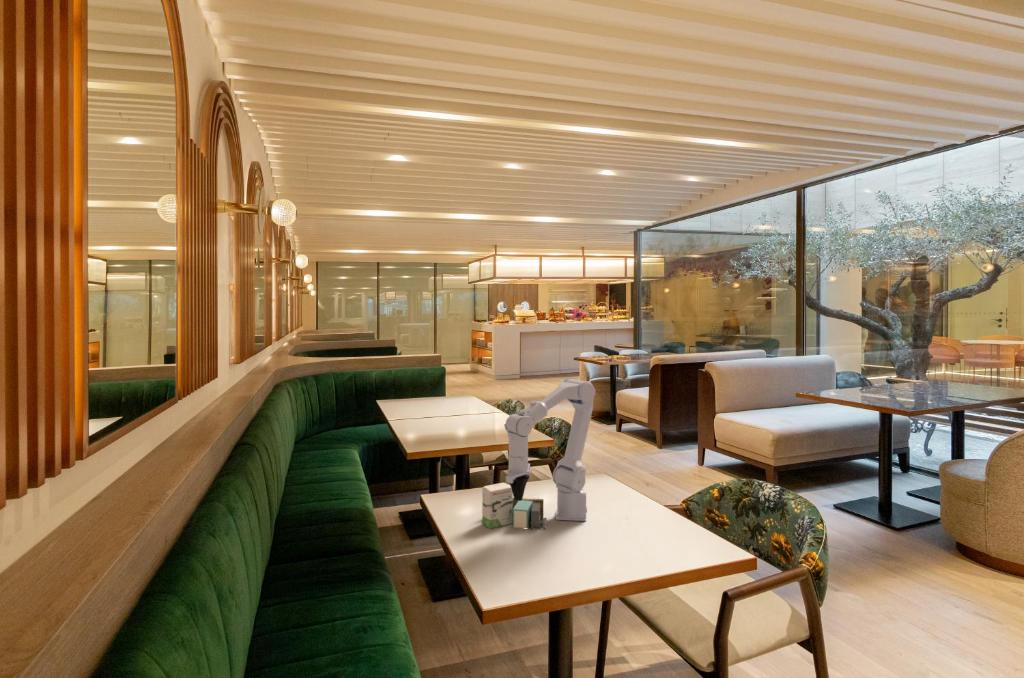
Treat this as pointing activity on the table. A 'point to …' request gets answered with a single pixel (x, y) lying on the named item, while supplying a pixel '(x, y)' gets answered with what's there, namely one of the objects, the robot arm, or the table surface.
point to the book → (522, 514)
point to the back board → (533, 501)
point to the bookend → (537, 517)
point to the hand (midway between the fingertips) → (518, 499)
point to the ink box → (497, 505)
